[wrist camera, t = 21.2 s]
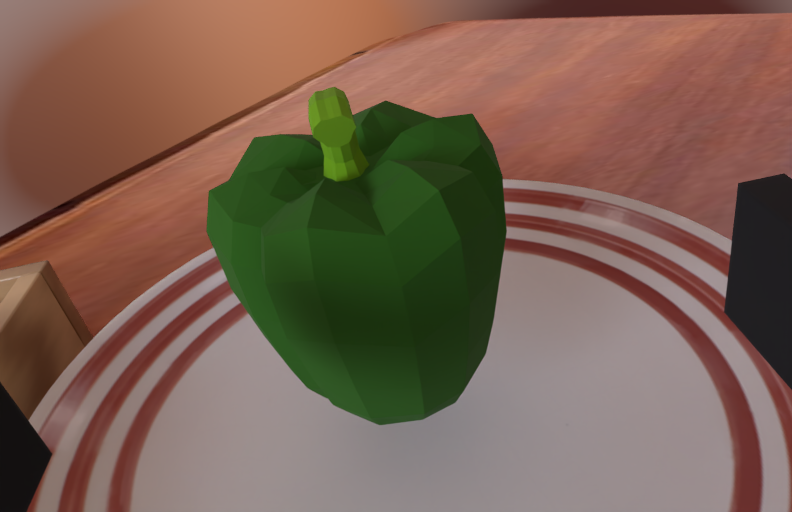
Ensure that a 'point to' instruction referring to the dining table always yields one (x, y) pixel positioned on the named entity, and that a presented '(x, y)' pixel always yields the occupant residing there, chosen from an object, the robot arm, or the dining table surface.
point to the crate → (36, 332)
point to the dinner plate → (473, 411)
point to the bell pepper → (368, 253)
